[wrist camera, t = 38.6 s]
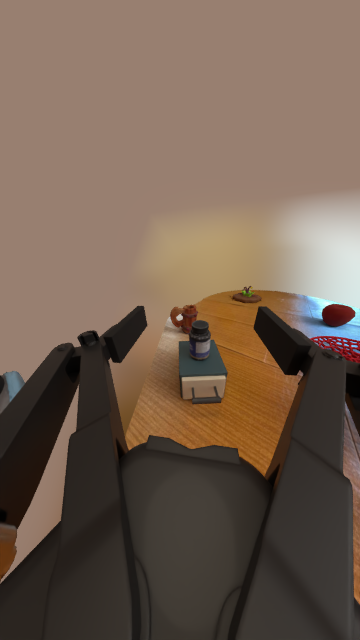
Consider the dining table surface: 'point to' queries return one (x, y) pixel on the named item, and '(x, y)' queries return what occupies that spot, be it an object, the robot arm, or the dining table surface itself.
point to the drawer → (204, 388)
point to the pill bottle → (199, 340)
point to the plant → (247, 296)
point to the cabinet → (199, 363)
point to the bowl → (343, 352)
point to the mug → (184, 317)
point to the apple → (337, 314)
